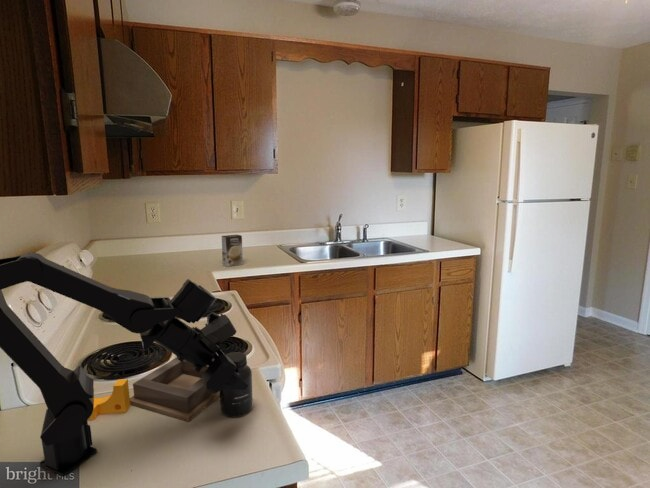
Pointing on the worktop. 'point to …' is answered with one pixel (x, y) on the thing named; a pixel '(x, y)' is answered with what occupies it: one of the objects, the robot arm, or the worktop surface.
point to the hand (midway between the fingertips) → (239, 377)
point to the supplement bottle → (238, 400)
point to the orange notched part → (113, 401)
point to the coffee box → (232, 250)
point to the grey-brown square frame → (173, 391)
